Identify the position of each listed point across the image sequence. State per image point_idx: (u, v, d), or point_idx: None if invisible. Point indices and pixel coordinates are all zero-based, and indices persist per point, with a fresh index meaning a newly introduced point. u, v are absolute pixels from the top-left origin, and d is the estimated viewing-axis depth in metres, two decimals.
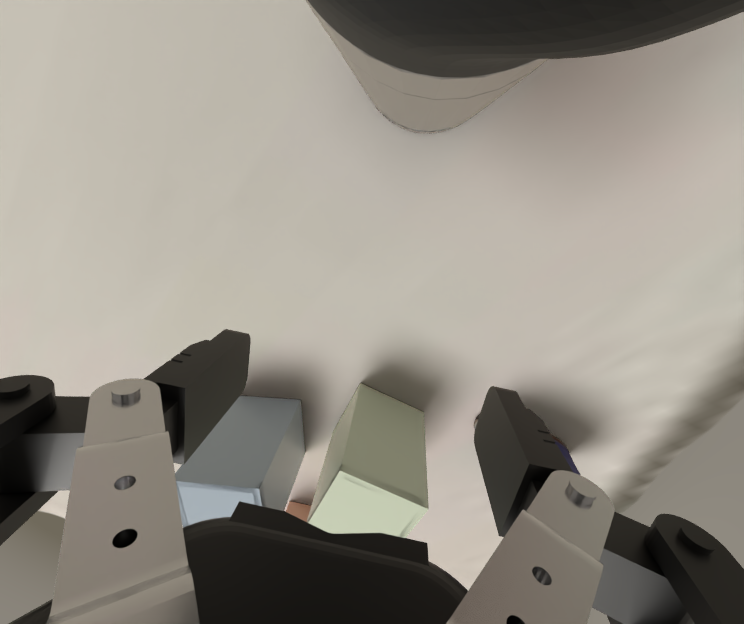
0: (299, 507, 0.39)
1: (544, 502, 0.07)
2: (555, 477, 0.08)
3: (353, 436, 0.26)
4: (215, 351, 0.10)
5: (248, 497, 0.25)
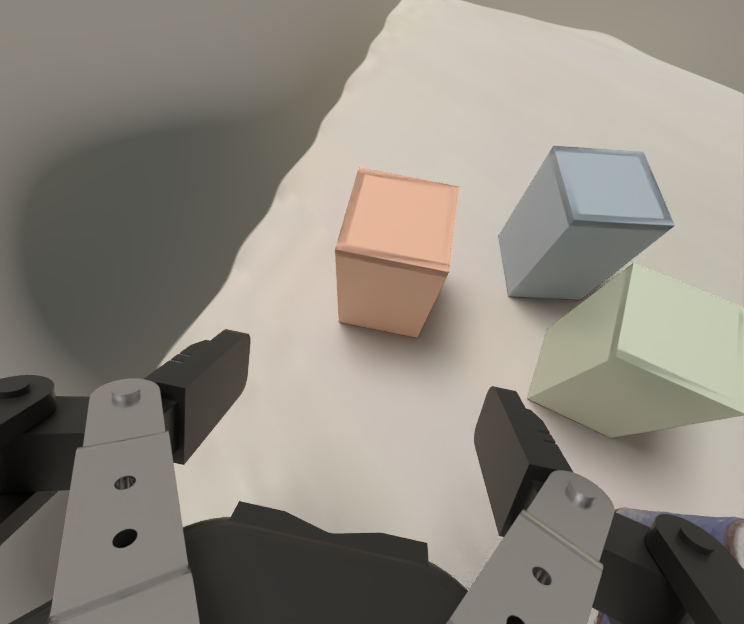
0: None
1: (544, 502, 0.07)
2: (556, 477, 0.08)
3: None
4: (215, 351, 0.10)
5: (655, 213, 0.23)
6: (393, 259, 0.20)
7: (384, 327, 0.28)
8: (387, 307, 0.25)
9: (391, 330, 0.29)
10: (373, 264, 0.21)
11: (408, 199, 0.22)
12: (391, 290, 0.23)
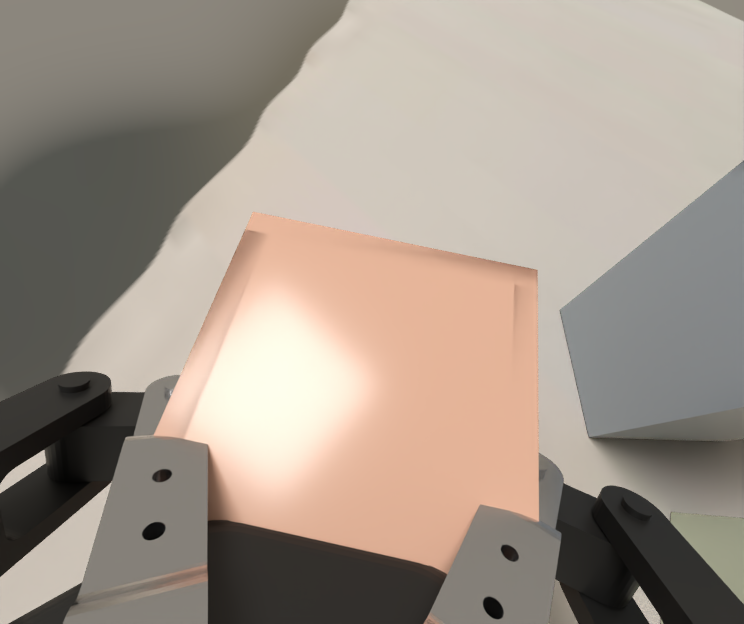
0: None
1: None
2: None
3: None
4: None
5: None
6: None
7: None
8: None
9: None
10: None
11: (390, 316, 0.07)
12: None
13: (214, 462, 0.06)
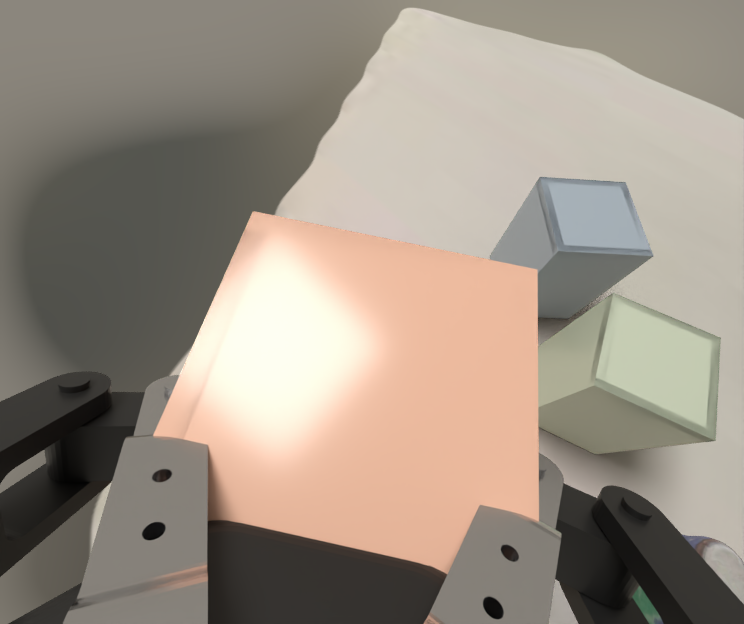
0: None
1: None
2: None
3: None
4: None
5: (635, 243, 0.24)
6: None
7: None
8: None
9: None
10: None
11: (390, 315, 0.07)
12: None
13: (214, 461, 0.06)
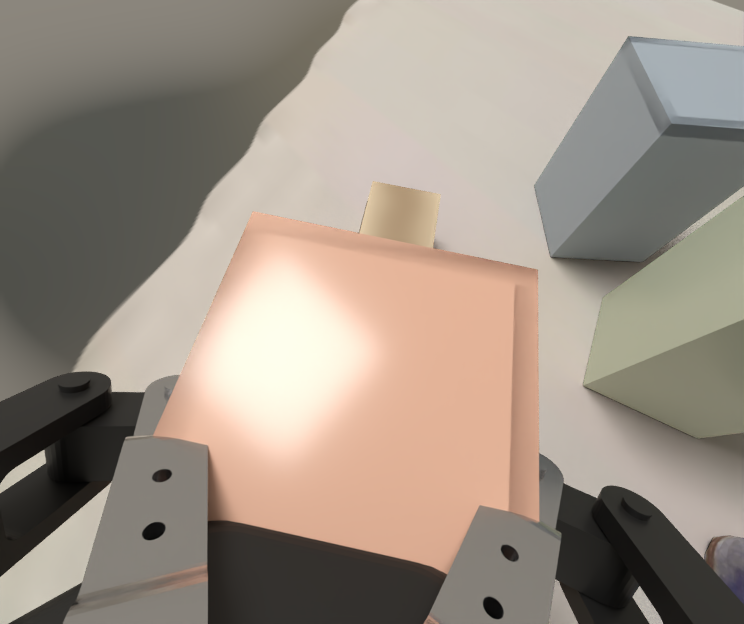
0: None
1: None
2: None
3: None
4: None
5: None
6: None
7: None
8: None
9: None
10: None
11: (390, 315, 0.07)
12: None
13: (214, 462, 0.06)
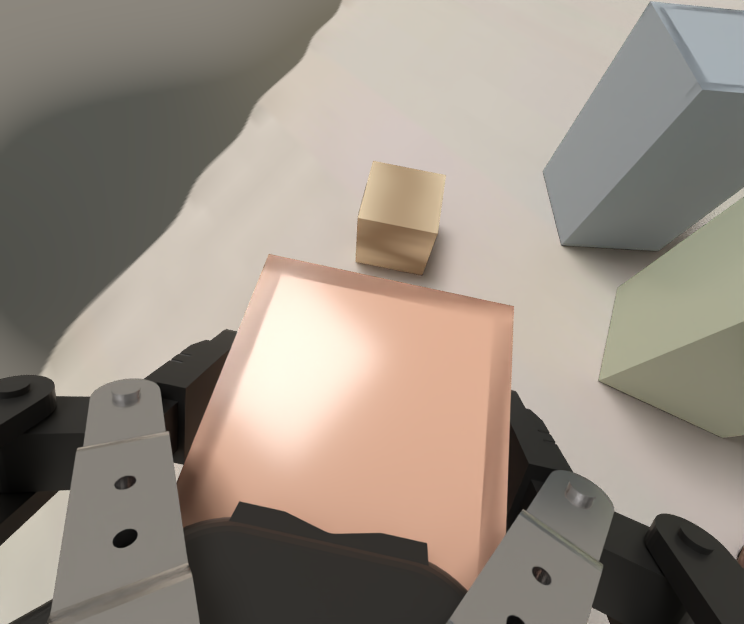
0: None
1: (544, 502, 0.07)
2: (555, 476, 0.08)
3: None
4: (215, 351, 0.10)
5: None
6: None
7: None
8: None
9: None
10: None
11: (386, 347, 0.08)
12: None
13: (240, 473, 0.07)
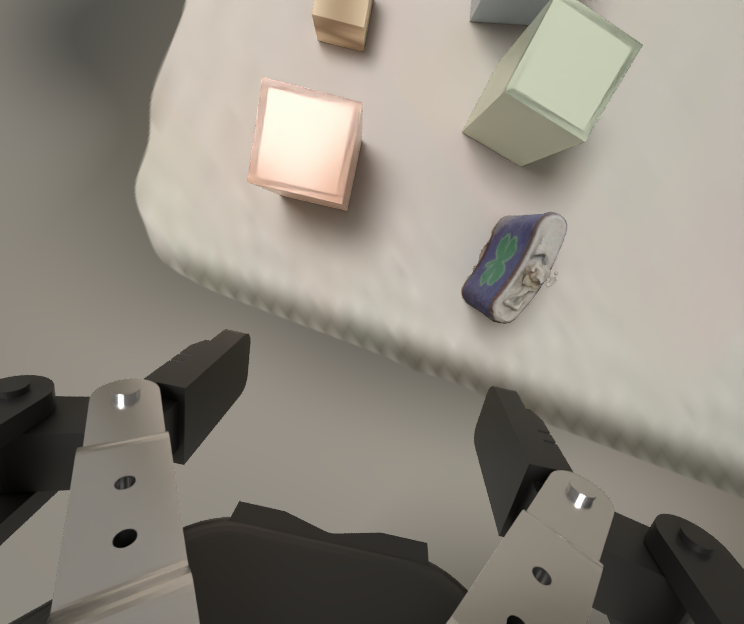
0: None
1: (544, 502, 0.07)
2: (555, 477, 0.08)
3: None
4: (215, 351, 0.10)
5: None
6: (296, 191, 0.24)
7: (318, 203, 0.33)
8: (311, 200, 0.30)
9: (324, 205, 0.34)
10: (282, 190, 0.25)
11: (311, 121, 0.23)
12: (307, 198, 0.27)
13: (267, 164, 0.24)
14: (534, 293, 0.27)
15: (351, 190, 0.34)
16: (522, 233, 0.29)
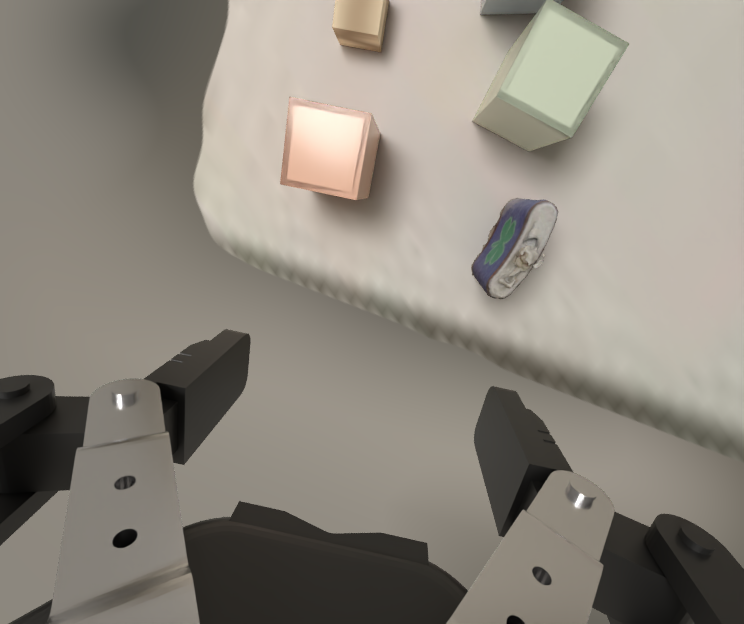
0: (377, 145, 0.37)
1: (544, 502, 0.07)
2: (555, 476, 0.08)
3: None
4: (215, 351, 0.10)
5: None
6: (319, 190, 0.30)
7: None
8: None
9: None
10: None
11: (329, 131, 0.28)
12: None
13: (295, 169, 0.29)
14: (526, 272, 0.31)
15: (371, 179, 0.38)
16: (519, 218, 0.32)
